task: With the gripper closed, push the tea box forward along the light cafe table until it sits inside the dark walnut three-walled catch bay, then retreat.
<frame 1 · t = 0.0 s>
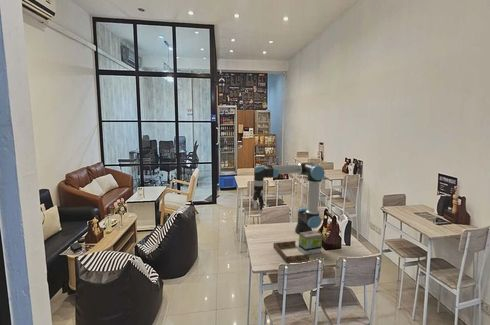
hand: (257, 210, 233), 28 cm above the table, fingers open, 13 cm apart
tea box: (309, 251, 225), on the table
catch bay: (290, 253, 221), on the table
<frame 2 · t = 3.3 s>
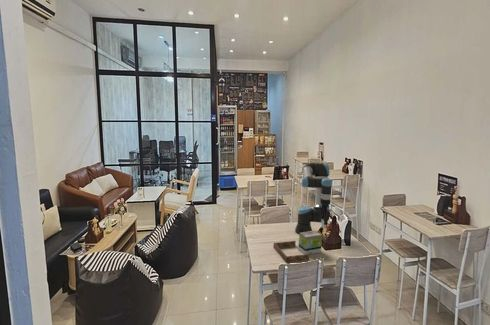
hand: (323, 227, 225), 18 cm above the table, fingers closed
nothing on the table moved.
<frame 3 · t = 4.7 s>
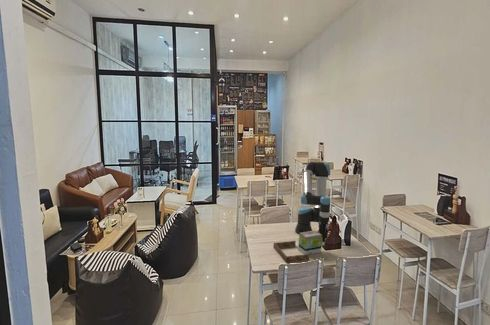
hand: (322, 245, 227), 4 cm above the table, fingers closed
nothing on the table moved.
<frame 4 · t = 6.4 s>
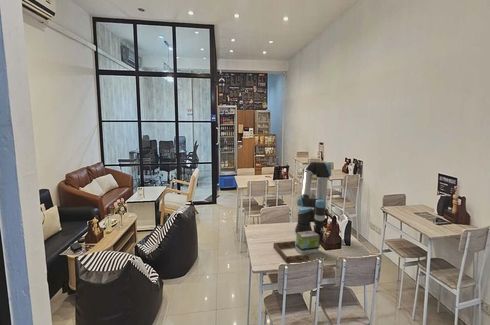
hand: (317, 248, 227), 2 cm above the table, fingers closed
tea box: (306, 251, 225), on the table, touching gripper
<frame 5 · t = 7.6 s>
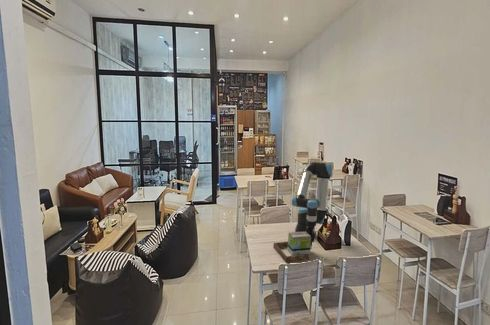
hand: (309, 248, 225), 2 cm above the table, fingers closed
tea box: (298, 252, 224), on the table, touching gripper
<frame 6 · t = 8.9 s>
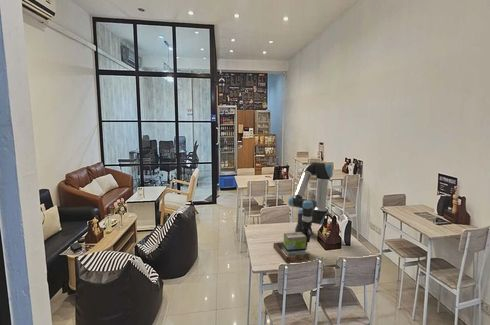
hand: (305, 249, 224), 2 cm above the table, fingers closed
tea box: (294, 252, 223), on the table
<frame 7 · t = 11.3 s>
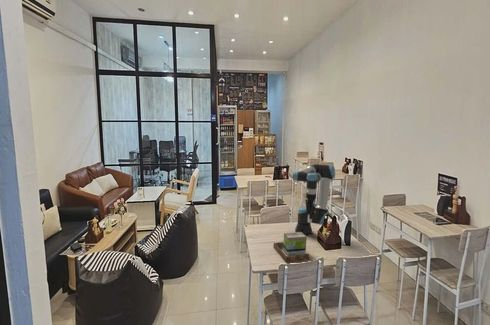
hand: (309, 222, 226), 22 cm above the table, fingers closed
nothing on the table moved.
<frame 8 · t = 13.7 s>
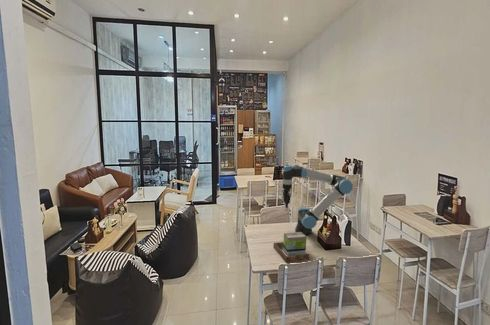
hand: (286, 210, 246), 24 cm above the table, fingers closed
nothing on the table moved.
at the end: tea box inside the target area (3.2 cm from its centre), on the table; tea box tilted 0°; tea box moved 13.0 cm from its start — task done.
